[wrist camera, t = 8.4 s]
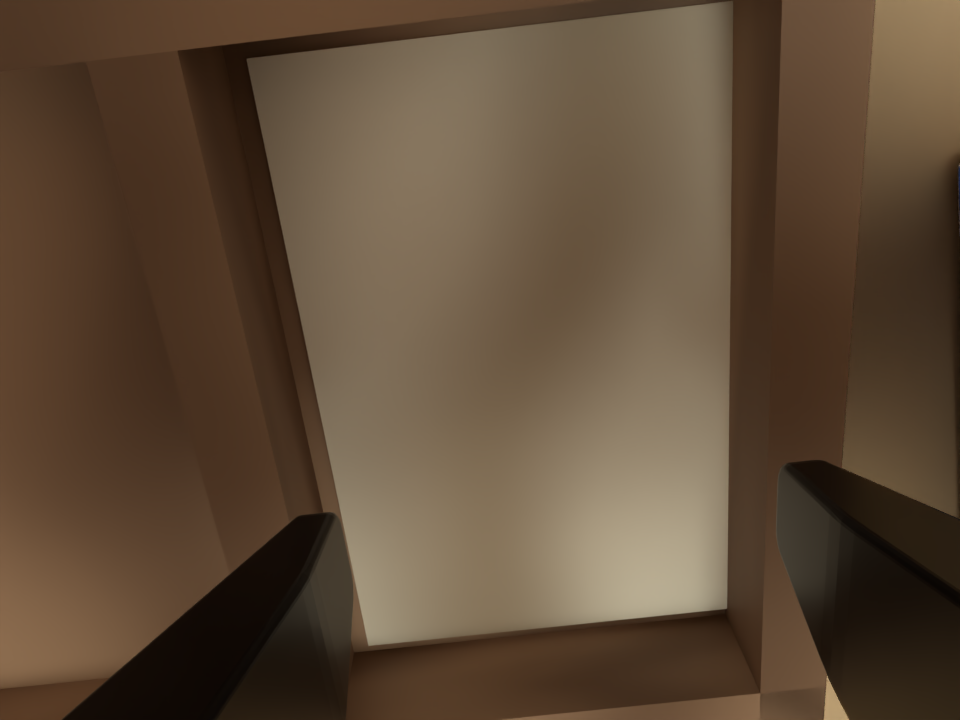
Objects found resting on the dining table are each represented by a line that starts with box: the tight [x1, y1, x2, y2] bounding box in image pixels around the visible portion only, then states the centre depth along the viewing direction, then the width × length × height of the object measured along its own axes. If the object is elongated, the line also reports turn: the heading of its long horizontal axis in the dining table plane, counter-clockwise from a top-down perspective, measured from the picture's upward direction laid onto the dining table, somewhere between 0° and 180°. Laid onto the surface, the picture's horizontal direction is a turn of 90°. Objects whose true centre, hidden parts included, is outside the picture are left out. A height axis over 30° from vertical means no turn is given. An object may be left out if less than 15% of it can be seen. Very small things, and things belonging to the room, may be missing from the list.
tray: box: [0, 0, 875, 720], centre depth 12 cm, size 18×12×2 cm, turn 96°
